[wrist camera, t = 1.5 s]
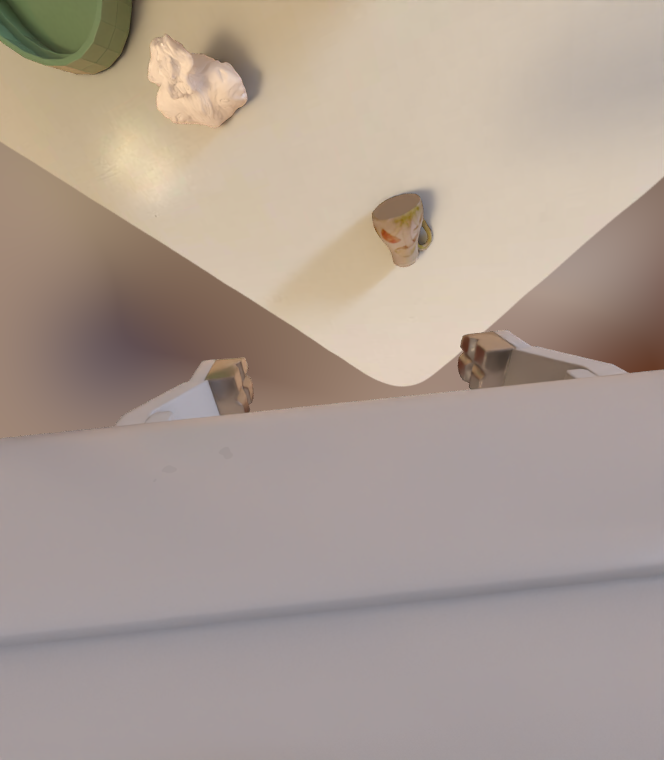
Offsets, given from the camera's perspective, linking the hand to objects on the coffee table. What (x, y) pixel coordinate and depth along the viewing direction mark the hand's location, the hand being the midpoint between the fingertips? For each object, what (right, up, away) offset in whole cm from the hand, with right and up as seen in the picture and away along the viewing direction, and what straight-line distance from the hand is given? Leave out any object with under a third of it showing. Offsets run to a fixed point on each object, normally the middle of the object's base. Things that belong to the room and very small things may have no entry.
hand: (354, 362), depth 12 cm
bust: (-17, +38, +30) cm, 52 cm away
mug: (+10, +23, +37) cm, 45 cm away
